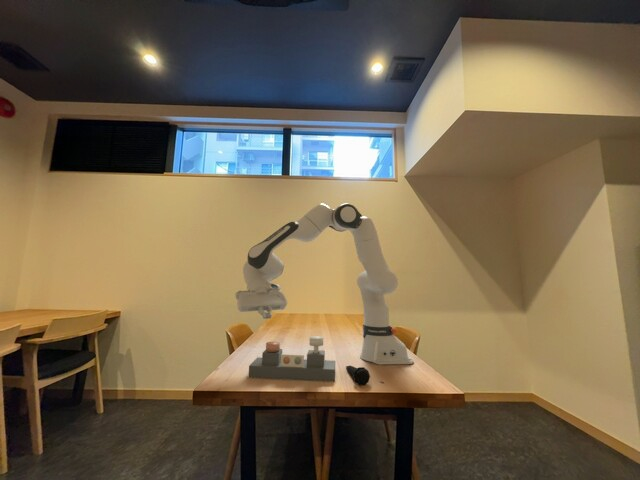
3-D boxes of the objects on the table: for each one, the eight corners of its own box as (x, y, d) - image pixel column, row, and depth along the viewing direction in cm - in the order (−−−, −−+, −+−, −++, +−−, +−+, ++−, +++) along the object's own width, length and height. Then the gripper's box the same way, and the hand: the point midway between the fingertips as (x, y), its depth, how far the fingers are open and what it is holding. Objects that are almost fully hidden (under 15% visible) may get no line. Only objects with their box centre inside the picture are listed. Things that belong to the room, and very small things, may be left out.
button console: (335, 371, 103) (335, 349, 104) (334, 381, 94) (335, 357, 95) (256, 368, 105) (257, 346, 106) (248, 377, 96) (249, 353, 97)
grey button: (323, 353, 102) (323, 336, 103) (322, 357, 97) (322, 339, 98) (309, 352, 103) (310, 335, 103) (308, 356, 98) (308, 338, 98)
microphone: (342, 376, 107) (359, 390, 88) (338, 361, 109) (354, 372, 90) (355, 371, 109) (374, 384, 90) (350, 356, 110) (368, 366, 91)
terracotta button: (280, 358, 103) (281, 341, 104) (277, 362, 98) (278, 345, 99) (267, 358, 103) (268, 341, 104) (263, 362, 98) (264, 344, 99)
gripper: (236, 285, 109) (243, 314, 100) (283, 285, 120) (293, 311, 111) (232, 296, 112) (238, 324, 103) (278, 295, 124) (287, 320, 114)
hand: (267, 317), depth 107 cm, fingers closed
